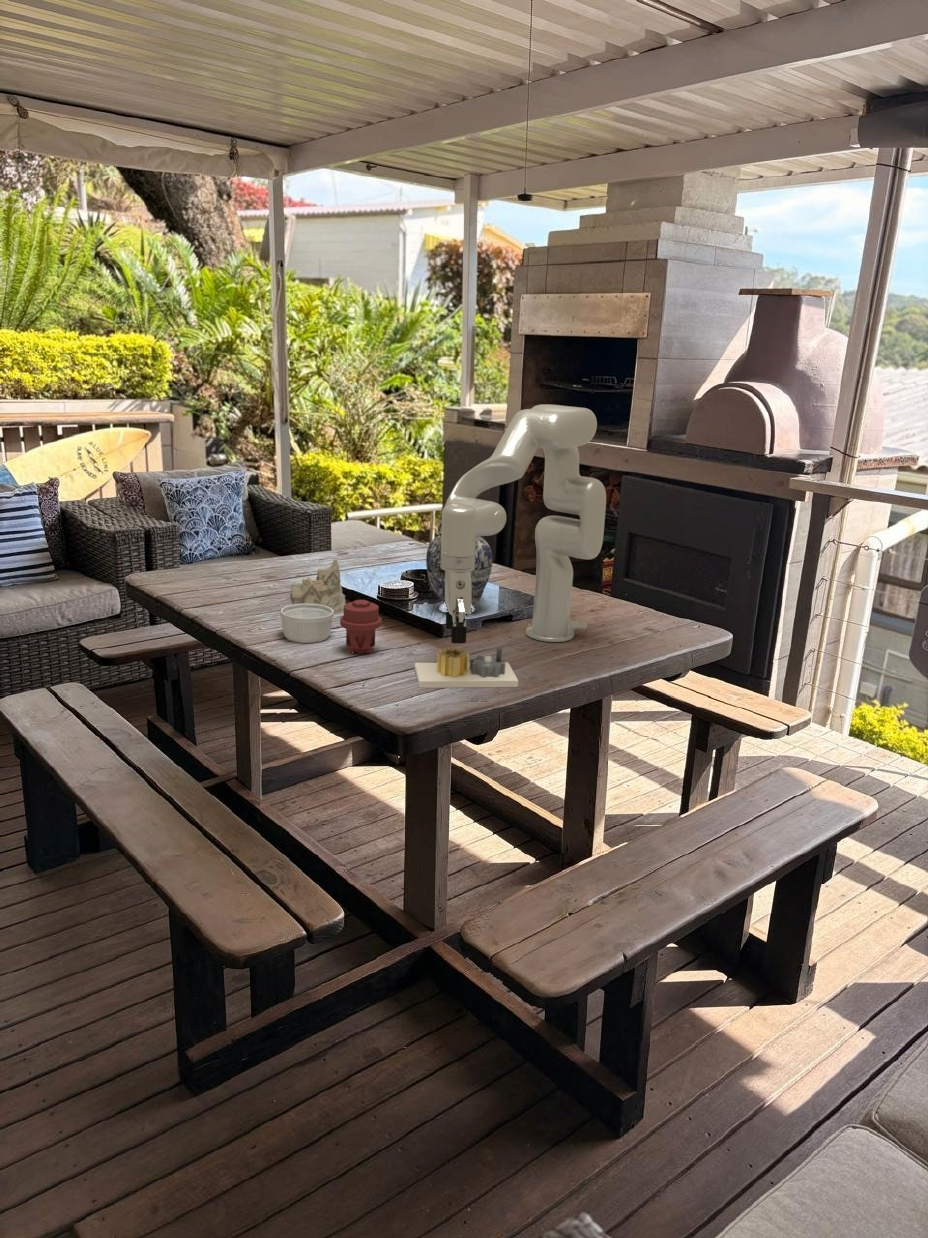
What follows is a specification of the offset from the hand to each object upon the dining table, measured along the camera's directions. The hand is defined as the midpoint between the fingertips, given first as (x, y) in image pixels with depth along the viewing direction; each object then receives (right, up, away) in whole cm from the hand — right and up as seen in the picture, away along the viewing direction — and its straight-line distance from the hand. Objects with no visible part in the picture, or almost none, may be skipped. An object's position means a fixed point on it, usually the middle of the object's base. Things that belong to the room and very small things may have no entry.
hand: (455, 635), depth 205 cm
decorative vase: (0, +6, +55) cm, 56 cm away
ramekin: (-38, -1, +26) cm, 46 cm away
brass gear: (-1, -8, +2) cm, 9 cm away
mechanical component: (-23, -4, +17) cm, 29 cm away
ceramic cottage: (-39, +7, +52) cm, 65 cm away
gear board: (+2, -10, +3) cm, 10 cm away
